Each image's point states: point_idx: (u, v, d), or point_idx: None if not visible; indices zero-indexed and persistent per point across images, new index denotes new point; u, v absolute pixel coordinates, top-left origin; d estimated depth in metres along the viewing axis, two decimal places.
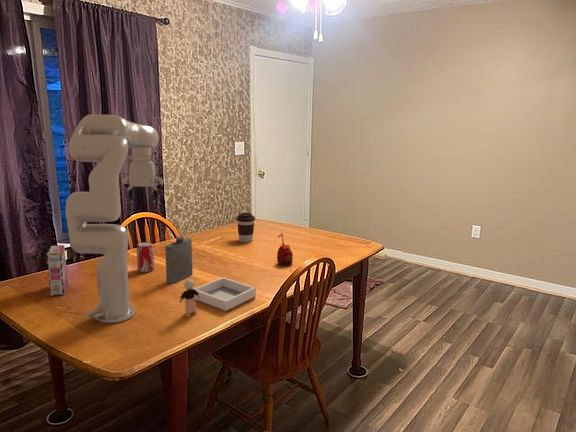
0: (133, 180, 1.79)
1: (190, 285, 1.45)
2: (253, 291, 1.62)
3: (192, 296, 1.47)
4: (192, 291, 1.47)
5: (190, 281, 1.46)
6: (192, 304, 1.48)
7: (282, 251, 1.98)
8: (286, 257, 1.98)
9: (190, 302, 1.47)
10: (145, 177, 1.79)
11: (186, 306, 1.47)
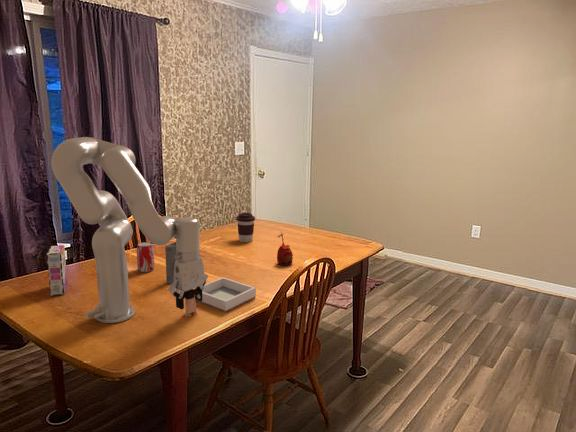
0: (186, 284, 1.42)
1: None
2: (253, 291, 1.62)
3: (192, 296, 1.47)
4: (192, 291, 1.47)
5: None
6: (192, 304, 1.48)
7: (282, 251, 1.98)
8: (286, 257, 1.98)
9: (190, 302, 1.47)
10: (198, 276, 1.45)
11: (186, 306, 1.47)
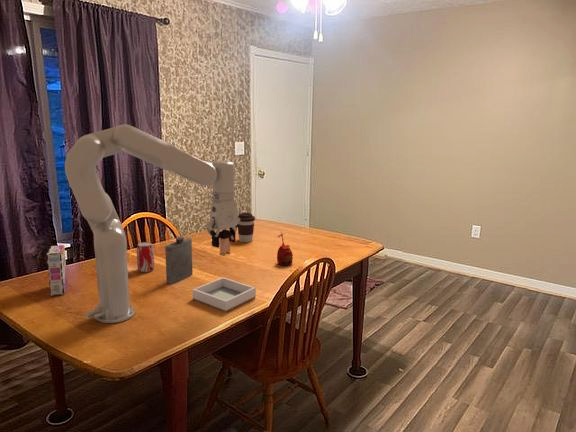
0: (222, 223, 1.51)
1: None
2: (253, 291, 1.62)
3: (227, 236, 1.56)
4: (227, 231, 1.56)
5: None
6: (226, 244, 1.57)
7: (282, 251, 1.98)
8: (286, 257, 1.98)
9: (225, 242, 1.56)
10: (232, 217, 1.55)
11: (221, 246, 1.56)
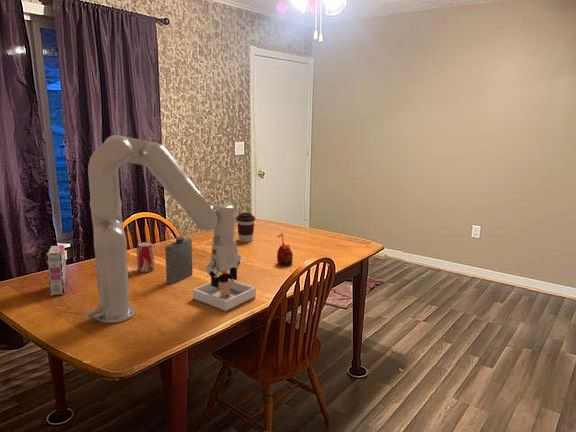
0: (223, 265, 1.55)
1: None
2: (253, 291, 1.62)
3: (227, 280, 1.60)
4: (227, 275, 1.60)
5: None
6: (226, 287, 1.61)
7: (282, 251, 1.98)
8: (286, 257, 1.98)
9: (225, 285, 1.60)
10: (233, 258, 1.58)
11: (221, 289, 1.60)
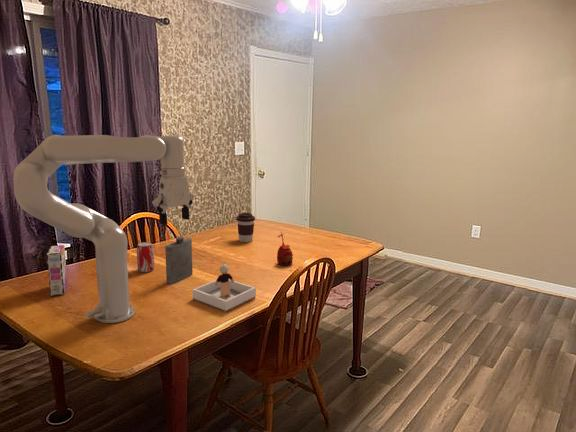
0: (171, 200, 1.45)
1: (226, 270, 1.58)
2: (253, 291, 1.62)
3: (227, 280, 1.60)
4: (227, 275, 1.60)
5: (225, 266, 1.59)
6: (226, 287, 1.61)
7: (282, 251, 1.98)
8: (286, 257, 1.98)
9: (225, 285, 1.60)
10: (183, 194, 1.49)
11: (221, 289, 1.60)
